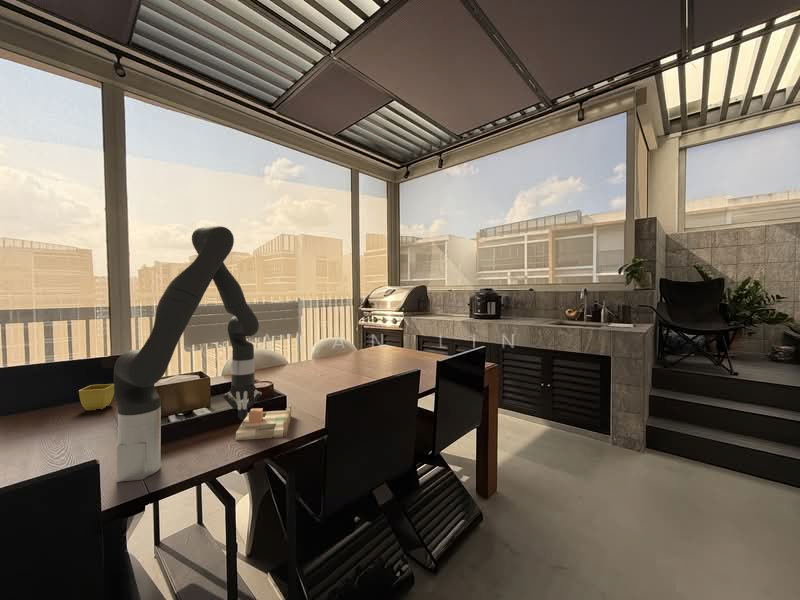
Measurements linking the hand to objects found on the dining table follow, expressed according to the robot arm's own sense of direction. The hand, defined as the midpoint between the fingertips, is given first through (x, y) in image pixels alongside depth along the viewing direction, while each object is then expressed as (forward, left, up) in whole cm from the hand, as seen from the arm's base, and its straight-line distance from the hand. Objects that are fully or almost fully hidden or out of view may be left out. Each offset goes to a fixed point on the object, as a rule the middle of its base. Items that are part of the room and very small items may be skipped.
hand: (242, 418), depth 121 cm
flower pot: (+32, +63, -4) cm, 71 cm away
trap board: (0, -8, -4) cm, 9 cm away
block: (0, -4, -1) cm, 5 cm away
